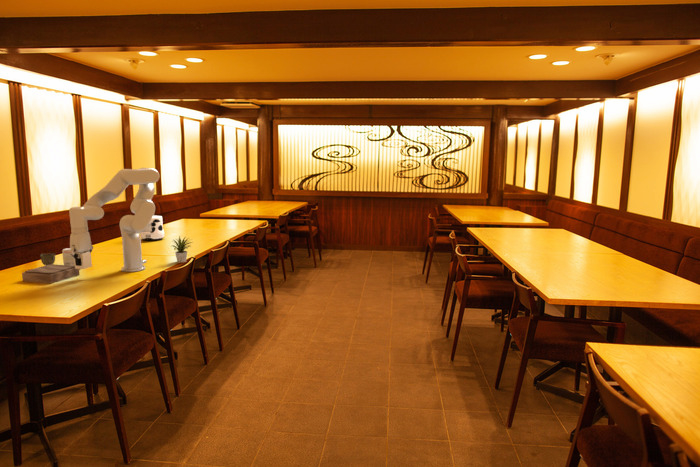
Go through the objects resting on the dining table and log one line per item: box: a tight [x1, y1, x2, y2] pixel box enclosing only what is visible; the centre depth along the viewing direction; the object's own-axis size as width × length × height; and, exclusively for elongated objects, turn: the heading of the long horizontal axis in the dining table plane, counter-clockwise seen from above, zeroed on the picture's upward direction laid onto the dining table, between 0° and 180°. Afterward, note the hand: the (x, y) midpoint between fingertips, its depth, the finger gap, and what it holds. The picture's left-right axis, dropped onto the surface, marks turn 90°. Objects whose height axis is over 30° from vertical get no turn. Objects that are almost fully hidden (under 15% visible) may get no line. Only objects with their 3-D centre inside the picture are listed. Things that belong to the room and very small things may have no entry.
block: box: [74, 251, 93, 270], centre depth 241 cm, size 6×6×8 cm
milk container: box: [139, 215, 165, 241], centre depth 354 cm, size 17×17×18 cm
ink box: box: [61, 247, 75, 266], centre depth 262 cm, size 9×5×12 cm, turn 102°
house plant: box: [171, 235, 194, 264], centre depth 281 cm, size 14×14×16 cm
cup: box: [39, 252, 56, 266], centre depth 265 cm, size 8×7×8 cm
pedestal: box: [21, 263, 80, 285], centre depth 242 cm, size 18×18×5 cm
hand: (83, 263), depth 241 cm, fingers closed on block, 5 cm apart
